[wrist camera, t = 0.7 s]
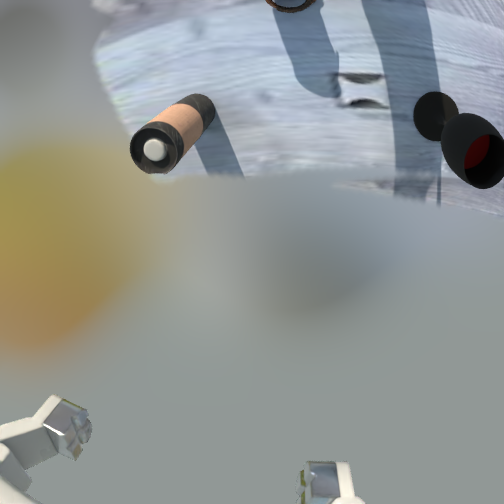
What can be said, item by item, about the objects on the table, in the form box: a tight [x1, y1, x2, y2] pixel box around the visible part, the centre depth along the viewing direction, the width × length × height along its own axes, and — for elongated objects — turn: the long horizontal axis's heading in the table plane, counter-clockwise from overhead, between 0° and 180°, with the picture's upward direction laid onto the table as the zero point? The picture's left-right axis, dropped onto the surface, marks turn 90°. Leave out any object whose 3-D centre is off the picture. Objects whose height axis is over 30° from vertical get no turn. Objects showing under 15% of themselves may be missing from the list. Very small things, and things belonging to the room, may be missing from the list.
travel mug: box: [130, 94, 215, 174], centre depth 44 cm, size 8×8×20 cm
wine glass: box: [414, 92, 504, 189], centre depth 36 cm, size 10×10×20 cm
